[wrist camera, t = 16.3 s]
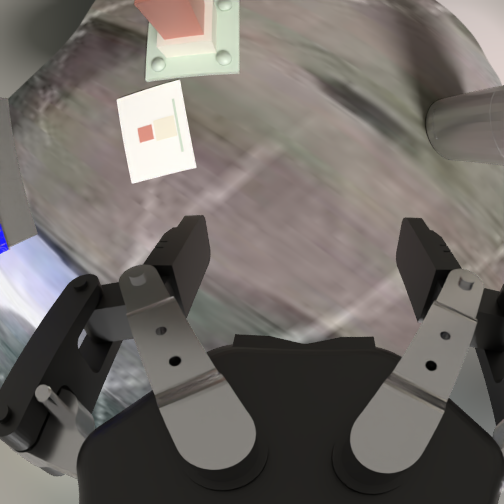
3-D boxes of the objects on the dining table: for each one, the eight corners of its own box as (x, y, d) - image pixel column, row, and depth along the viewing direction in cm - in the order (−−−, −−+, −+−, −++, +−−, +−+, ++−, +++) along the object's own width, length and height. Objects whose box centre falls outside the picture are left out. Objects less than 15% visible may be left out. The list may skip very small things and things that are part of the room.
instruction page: (180, 79, 34) (179, 79, 34) (196, 167, 38) (196, 167, 38) (117, 99, 35) (116, 99, 35) (132, 183, 38) (131, 183, 38)
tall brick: (204, 3, 27) (186, -46, 16) (204, 34, 28) (183, -10, 18) (166, 8, 27) (136, -36, 16) (164, 39, 28) (131, 0, 18)
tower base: (239, -2, 31) (237, -21, 25) (239, 73, 34) (237, 60, 29) (152, 8, 31) (140, -9, 26) (147, 81, 34) (132, 71, 29)
